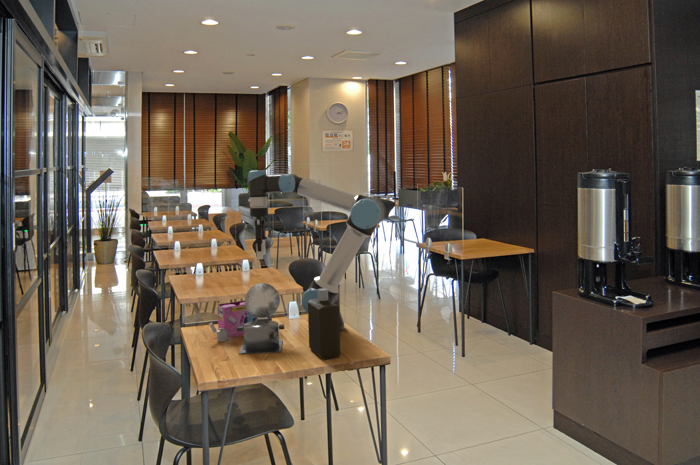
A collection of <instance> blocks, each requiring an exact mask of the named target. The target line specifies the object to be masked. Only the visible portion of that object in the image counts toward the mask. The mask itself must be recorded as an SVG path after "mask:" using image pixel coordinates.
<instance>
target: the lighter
mask: <svg viewBox="0 0 700 465" xmlns="http://www.w3.org/2000/svg"><path fill="white" fill-rule="evenodd" d="M208 325H209V327H210V330H212V333H213V334H215V333H216V339H217V340H216V341H217V342H228V338H227V330H225V328H219V330H218V329H216V326H215V325H214V323H213V322H210V323H208Z"/></svg>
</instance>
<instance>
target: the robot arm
mask: <svg viewBox="0 0 700 465" xmlns="http://www.w3.org/2000/svg"><path fill="white" fill-rule="evenodd" d="M247 175H248V176H247V177H248V181H247V183H248V195H249V199H248V200H247V202H248V203H249V216H250V217H251V218H255V220H254V229H255V240H254V241H253V244H254V245H255V248H256V249H255V250H256V260H264V255H265V256H266V254H267V250H266V249H267V248H266V240H267V236H266V233H265V232H266V231H265V230H266V229H265V227H266V226H265V223H266V222H265V218H264V217H268V216H269V208H268V204H269V201H268V194H270V193H274V194H275V193H283V194H284V193H285V194H286V193H292V194H295V195H298V196H302V197H303V198H304V197H305V198H307V199H311V200H314V201H316V202H320V203H323V204H325V205H328V206H331V207H334V208H337V209H339V210H342V211H346V212H348V213H350V215H349V217H348V218H347V220H346V222H345V223H346V224H345V225H346V230H345V231H344V232H343V235H342V236H341V238H340V240H339V241H338V243H337V245H336V246H335V249H334V250H333V252H332V254H331V255H330V257H329V259H328V261H327V263H326V265H325V266H324V267H323V269H322V272H321V273H320V275H319V276H315V277H314V278H313V280H312V282H311V283H310V285H309V287H308V288H307V290H305V291H304V293H303V295H302V296H301V305H302V308H303V309H304V311H305V312H306V313H307V314H308V301H309V300H310V299H318V289H322V288H324V289H328V300H329V301H331V302H332V303H334V304H336V305H337V306H338V307H339V316H340V332H342V331H344V329H345V322H344V321H345V320H344V319H343V317H342V314H341V313H342V312H341V299H340V298H341V295H340V294H341V291H340V289H341V288H340V287H341V284H340V283H341V281H342V279H343V278H344V276H345V274H346V273H347V271H348V269H349V267H350V266H351V264H352V262H353V260H354V259H355V257H356V255H357V253H358V251H359V250H360V248H361V247H362V245H363V243H364V241H365V240H366V239H367V238H369V237H372V235H373V234H374V232H375V230H376V228H377V226H378V225H379V224H380V223H381V222H382V221H383V220H384V219H385V217H386V207H385V204H384V203H383V202H382V201H381V200H380V199H379V198H377V197H371V196H366V195H363V194H357V195H356V194H352V193H349V192H346V191H343V190H339V189H338V188H334V187H331V186H328V185H325V184H322V183H319V182H316V181H314V180H313V181H312V180H309V179H306V178H304V177H301V176H298V175H297V174H293V173H284V174H283V173H281V174H267V172H266V170H265V169H264V170H262V169H261V170H250V171H249V172H248V174H247Z"/></svg>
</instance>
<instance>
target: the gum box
mask: <svg viewBox="0 0 700 465" xmlns="http://www.w3.org/2000/svg"><path fill="white" fill-rule="evenodd" d="M216 305H217V307H216V309H217V311H216V312H217V326H218V328H217V331H218V330H219V328H225V330H227V339H228V338H235V337H238V336H239V337H240V336H244V335H243V330H242V331H237V327H238V326H243V325H244V324H246V323H248V322H252V321H257V319H258V317H255V316H253V315H252V314H251V313H250V312H249V311H248V310H247V308H246V305H245V299H244V300H239V301H232V302H225V303H219V304H216ZM267 318H269V320H270V321H273V317H272V315H271V316H269V317H267Z"/></svg>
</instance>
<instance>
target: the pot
mask: <svg viewBox="0 0 700 465" xmlns="http://www.w3.org/2000/svg"><path fill="white" fill-rule="evenodd" d="M242 330H243V335H242V336H243V343H242V345H241V347H240V350H239V353H238V354H239V355H253V354H254V355H256V354H277V353H279V354H280V353H281V352H282V347H283V346H282V345H283V342H284V339H280V335H279V334H280V332H279V330H285V324H279V322H278V321H274V320H272V321H270V320H269V318H267V319H257V321H252V322H248V323H246V324H244V325H243V326H238V327H237V331H242Z"/></svg>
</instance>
